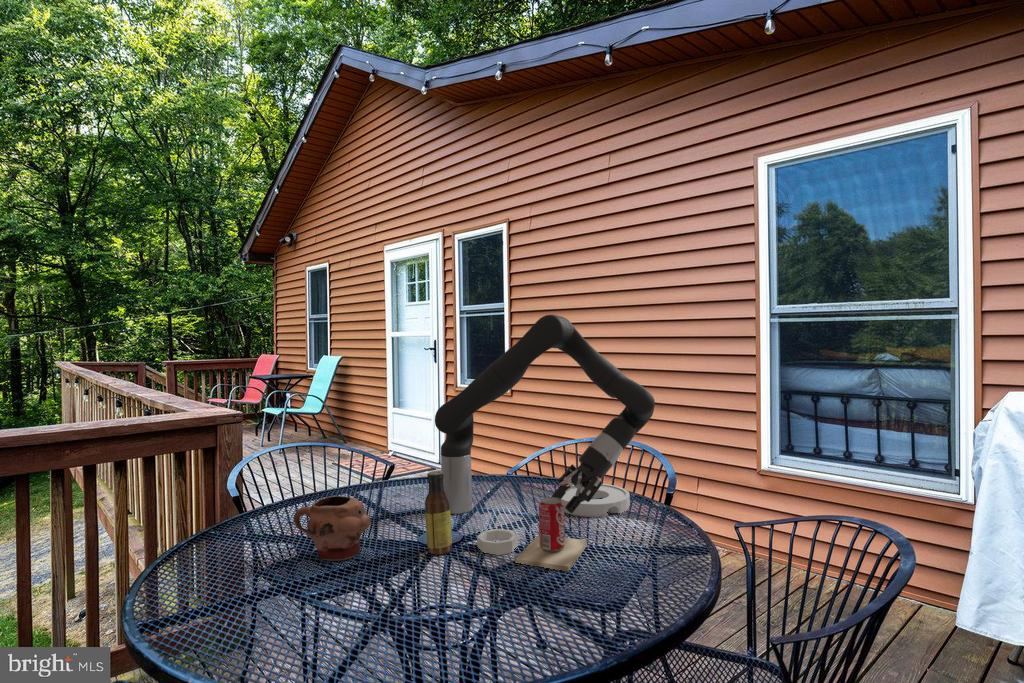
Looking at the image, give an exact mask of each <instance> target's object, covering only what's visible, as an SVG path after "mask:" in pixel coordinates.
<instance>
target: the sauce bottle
mask: <svg viewBox="0 0 1024 683" xmlns="http://www.w3.org/2000/svg"><path fill="white" fill-rule="evenodd" d="M443 478H444V474H443V472H441V471H440V470H433V471H429V472H427V480H428V493H427V495H426V497H425V500H424V506H425V510H424V512H425V513H424V514H425V517H424V518H425V531H426V533H425V534H426V547H427V552H428V554H432V555H434V556H441V555H445V554H449V553H450V552H451V551H452V548H453V547H452V543H453V537H452V536H453V534H452V518H451V514H450V505H449V502H448V499H447V497H446V494H445V491H444V485H443Z"/></svg>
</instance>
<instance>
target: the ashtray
mask: <svg viewBox="0 0 1024 683" xmlns="http://www.w3.org/2000/svg"><path fill="white" fill-rule="evenodd" d="M576 491H577V488H575V489H570V490H568V491H567V492H566V493H565V495H564V496H563V497H562V498H561V500H562V503H563V505H564V514H569V515H572V516H580V517H586V518H587V517H588V518H589V517H590V518H598V517H599V518H600V517H602V518H604V517H608V516H609V514H613V513H618V514H617V515H620V514H619V513H621V514H623V513H625V512H627V511H628V510H629V509H630V508H629V506H630V505H631V502H630V500H631V499H630V498H631V496H630V492H629V491H628V490H627V489H625V488H623V487H620V486H618V485H612V484H608V483H602V485H601V486H600V488H599V489H598V490H597V492H596V493H595V495H594V496H593V497H592V498H603V499H591V500H590V501H589V502H587V501H584V502H581V503H580V504H579V506H578V507H577V508H576V509H575V511H574V512H573V513H570V512H569V511H568V510H566V508H565V506H566V505H567V504H568V503H569V501H570V500H571V499H572V498H573V496H576V495H575V494H576ZM590 492H591V491H589V494H590ZM589 494H587V495H589ZM628 508H629V509H628ZM627 509H628V510H627ZM626 510H627V511H626ZM624 511H625V512H624ZM607 512H608V513H607ZM622 512H623V513H622Z"/></svg>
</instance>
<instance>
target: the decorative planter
mask: <svg viewBox="0 0 1024 683" xmlns="http://www.w3.org/2000/svg"><path fill="white" fill-rule="evenodd" d="M302 516H306V517H308V522H307V525H306V526H307V527H306V528H307V529H306V528H304V527H303V526H302V525H301V523H300V520H301V517H302ZM292 519H293V523H294V526H295V528H297V529H298V530H300V531H301V532H303V533H305V535H306V536H308V537H309V538H310V539H311V540H312V541H313V543H314V545H315V548H316V551H317V555H318V558H319V559H321V560H324V561H332V562H333V561H345V560H348V559H352V558H354V557H355V556H357V555H358V554H359V553H360V550H361V538H360V537H361V535H362V533H363V532H364V531H366V530H367V529H369V527H370V526H371V524H372V519H371V517H370V516H369V515H368V514H367V513H366V510H365V506H364V504H363V502H361V501H360V500H358V499H357V498H355V497H352V496H351V497H350V496H343V495H342V496H341V495H335V496H334V495H333V496H332V495H331V496H327V497H324V498H321V499H318V500H316V501H314V503H313V504H311V506H303V507H299V509H296V511H295V512H294V514H293V517H292Z"/></svg>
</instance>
